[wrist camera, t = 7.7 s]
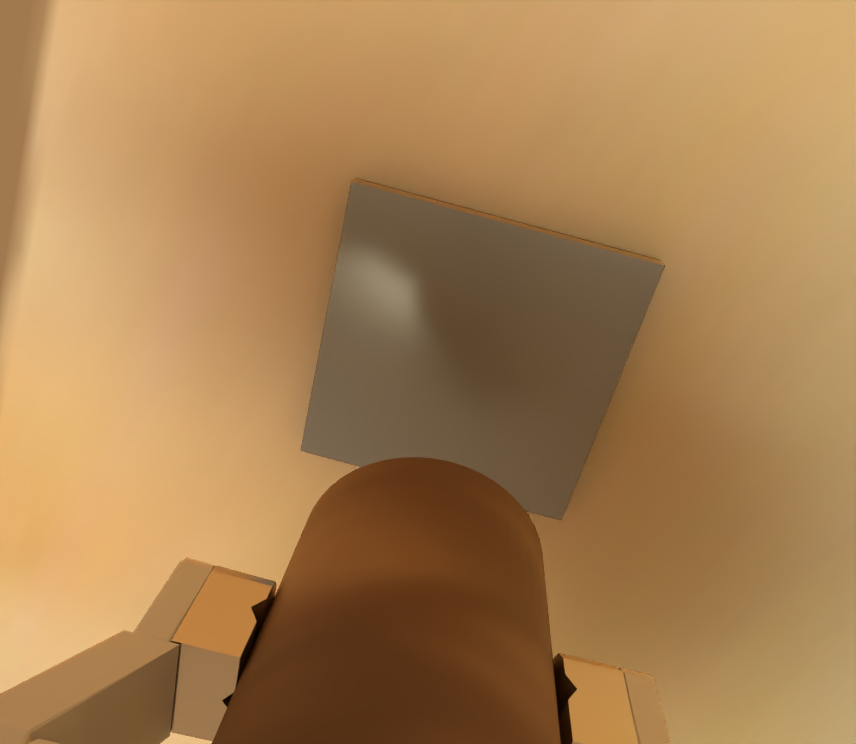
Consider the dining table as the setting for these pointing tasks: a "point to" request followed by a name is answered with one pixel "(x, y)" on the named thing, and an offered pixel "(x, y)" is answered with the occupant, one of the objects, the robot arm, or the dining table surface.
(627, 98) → the dining table surface
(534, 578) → the pepper mill
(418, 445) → the coaster
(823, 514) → the dining table surface
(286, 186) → the dining table surface
